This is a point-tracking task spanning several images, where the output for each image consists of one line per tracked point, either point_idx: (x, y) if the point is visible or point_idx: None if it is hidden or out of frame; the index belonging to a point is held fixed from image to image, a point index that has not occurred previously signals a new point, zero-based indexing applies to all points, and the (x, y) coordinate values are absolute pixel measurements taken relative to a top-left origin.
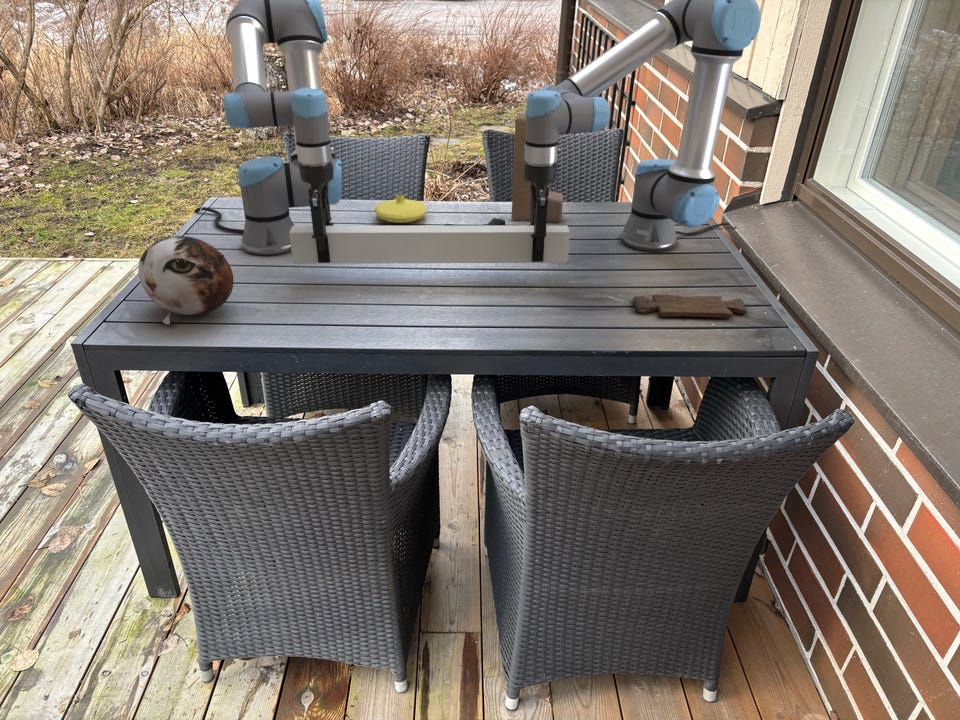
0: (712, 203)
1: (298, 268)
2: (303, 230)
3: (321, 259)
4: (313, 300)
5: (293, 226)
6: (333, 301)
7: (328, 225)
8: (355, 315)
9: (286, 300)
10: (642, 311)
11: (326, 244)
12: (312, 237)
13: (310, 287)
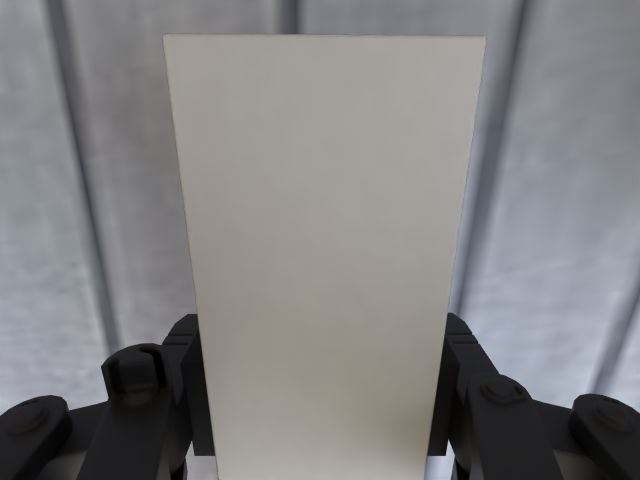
0: None
1: (489, 58)
2: (272, 245)
3: None
4: (118, 195)
5: (449, 60)
6: (123, 276)
7: (453, 465)
8: (23, 361)
9: (96, 65)
10: None
11: None
12: (114, 356)
13: None
